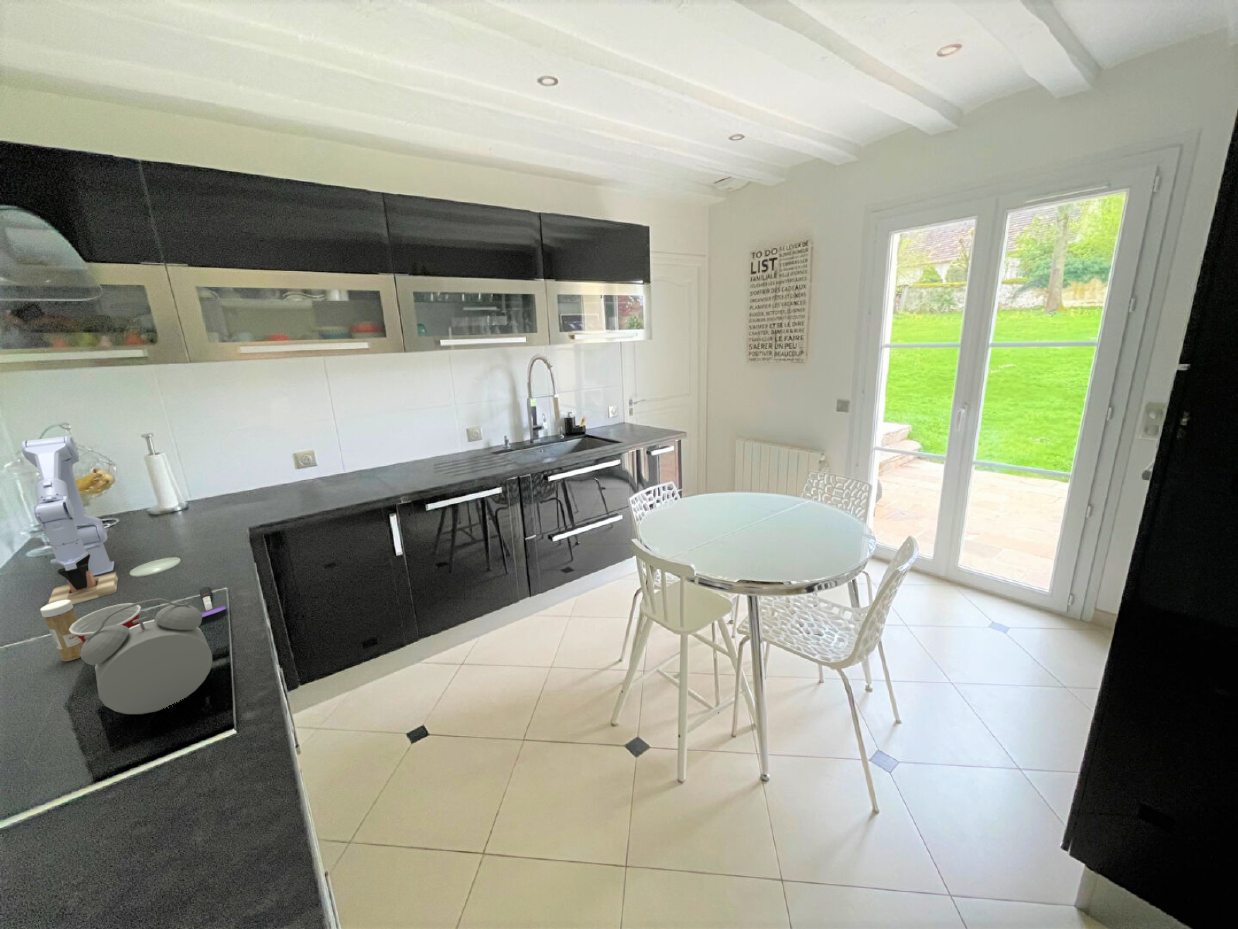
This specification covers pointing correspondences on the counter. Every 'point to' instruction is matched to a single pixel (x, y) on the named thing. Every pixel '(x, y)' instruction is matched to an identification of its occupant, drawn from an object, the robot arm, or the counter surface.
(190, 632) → the alarm clock
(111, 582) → the maple pocket holder
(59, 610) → the sprinkles bottle
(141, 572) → the sage coaster
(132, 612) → the plastic cup
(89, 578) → the terracotta block
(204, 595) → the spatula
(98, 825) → the counter surface
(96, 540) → the robot arm
